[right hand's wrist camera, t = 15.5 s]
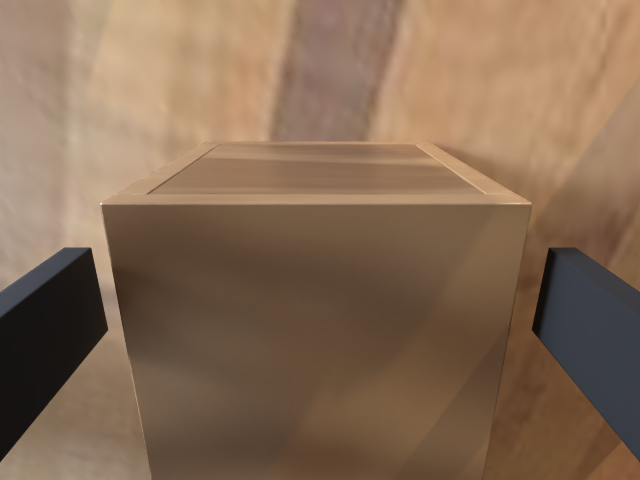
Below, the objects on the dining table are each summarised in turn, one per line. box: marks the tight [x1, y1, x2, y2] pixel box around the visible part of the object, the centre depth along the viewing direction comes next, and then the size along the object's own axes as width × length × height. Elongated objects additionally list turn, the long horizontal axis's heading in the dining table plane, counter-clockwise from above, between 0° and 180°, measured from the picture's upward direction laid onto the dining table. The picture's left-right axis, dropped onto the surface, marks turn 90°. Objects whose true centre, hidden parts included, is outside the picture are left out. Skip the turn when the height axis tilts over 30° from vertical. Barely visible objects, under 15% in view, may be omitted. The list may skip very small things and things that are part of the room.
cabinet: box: [100, 142, 532, 480], centre depth 19 cm, size 18×11×11 cm, turn 0°
